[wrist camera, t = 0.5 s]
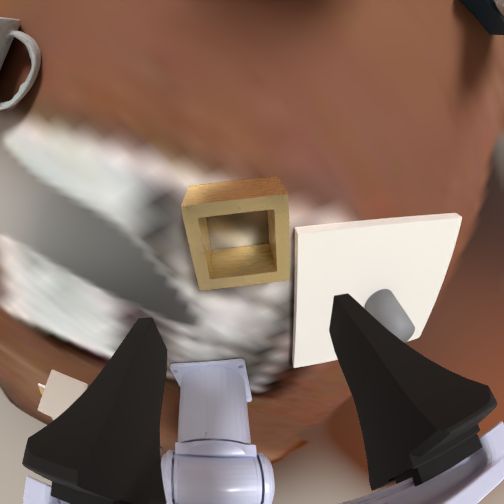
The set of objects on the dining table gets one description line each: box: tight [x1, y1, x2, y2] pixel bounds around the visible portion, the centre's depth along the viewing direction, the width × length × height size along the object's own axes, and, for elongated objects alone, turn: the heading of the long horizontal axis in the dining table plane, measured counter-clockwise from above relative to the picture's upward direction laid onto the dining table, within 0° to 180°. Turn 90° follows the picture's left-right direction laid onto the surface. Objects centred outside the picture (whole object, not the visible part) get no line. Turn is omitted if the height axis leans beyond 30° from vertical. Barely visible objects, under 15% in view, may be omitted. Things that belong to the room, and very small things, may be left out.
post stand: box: [292, 213, 462, 368], centre depth 22 cm, size 16×16×6 cm
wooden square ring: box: [181, 176, 290, 291], centre depth 18 cm, size 6×6×4 cm
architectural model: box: [38, 370, 88, 421], centre depth 26 cm, size 3×7×7 cm, turn 65°
